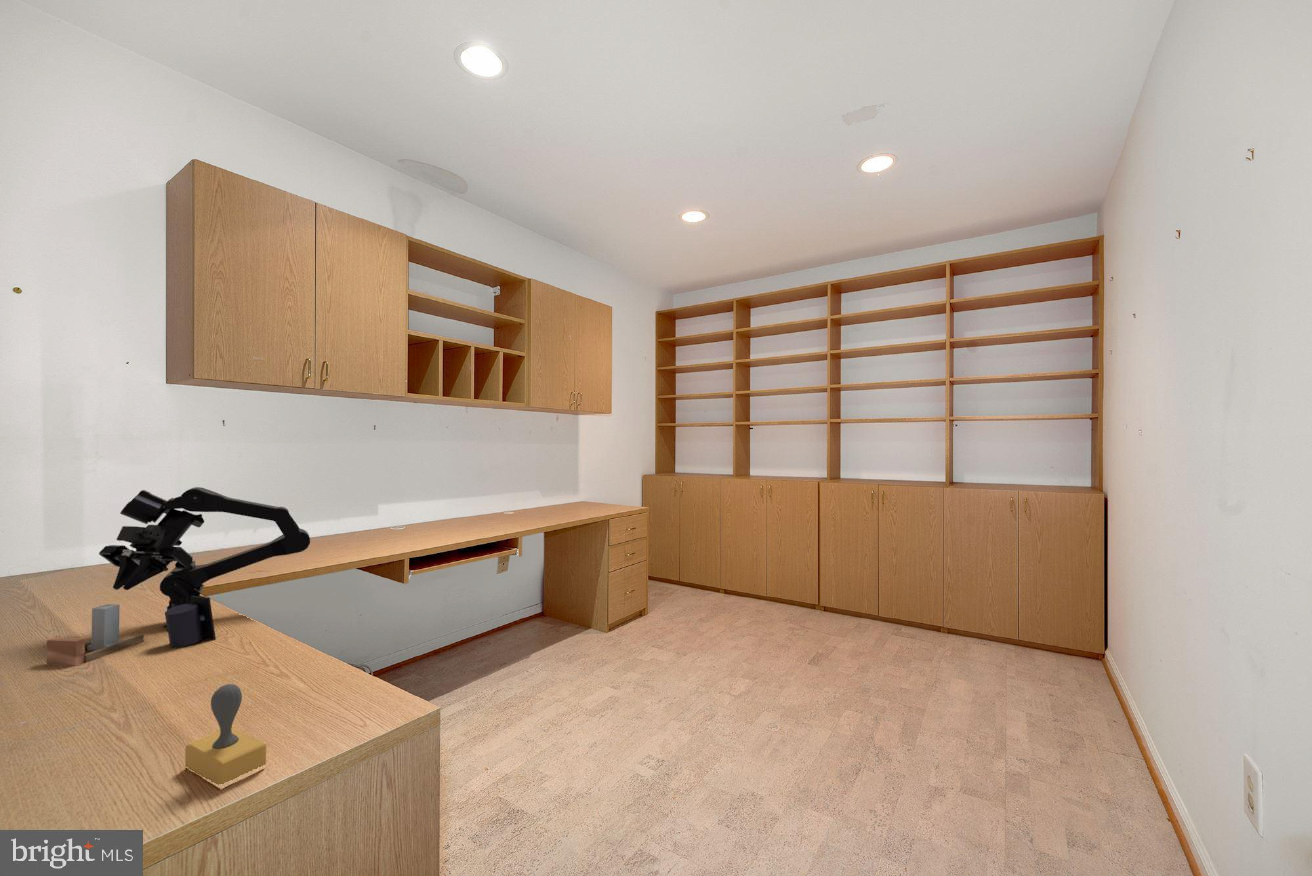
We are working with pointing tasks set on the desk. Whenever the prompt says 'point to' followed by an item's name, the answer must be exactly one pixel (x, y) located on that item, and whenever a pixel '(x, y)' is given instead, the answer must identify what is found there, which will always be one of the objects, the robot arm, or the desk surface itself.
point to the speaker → (190, 622)
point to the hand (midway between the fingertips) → (119, 588)
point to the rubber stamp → (225, 743)
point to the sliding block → (104, 626)
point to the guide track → (81, 650)
